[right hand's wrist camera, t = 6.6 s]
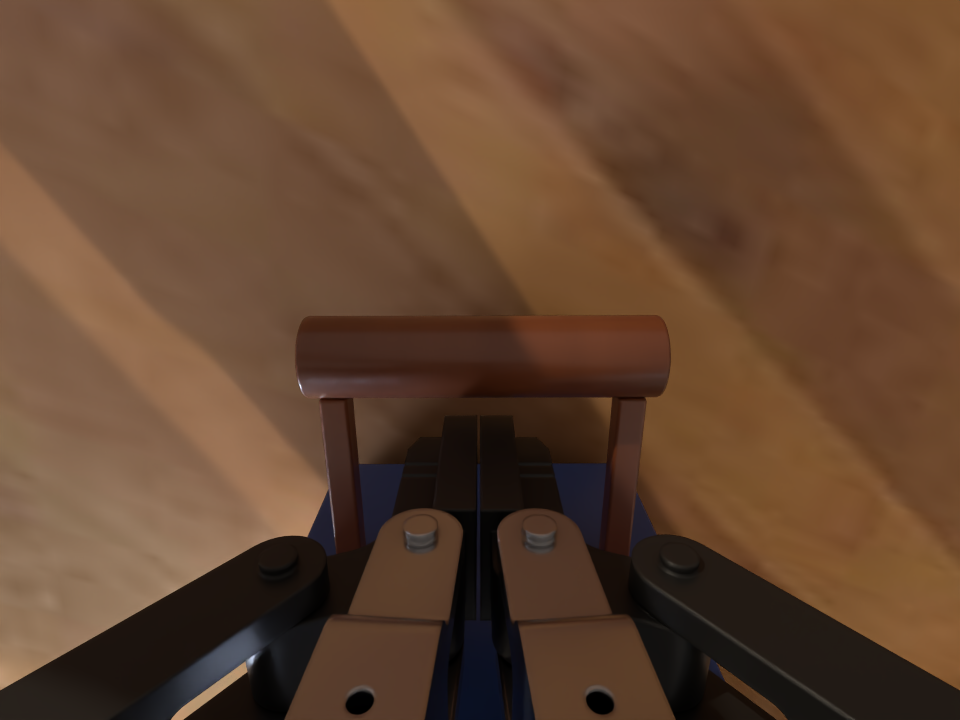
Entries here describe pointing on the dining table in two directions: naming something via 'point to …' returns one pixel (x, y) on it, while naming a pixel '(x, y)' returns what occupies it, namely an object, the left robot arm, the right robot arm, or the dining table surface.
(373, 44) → the dining table surface
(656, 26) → the dining table surface
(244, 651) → the right robot arm
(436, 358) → the drawer
